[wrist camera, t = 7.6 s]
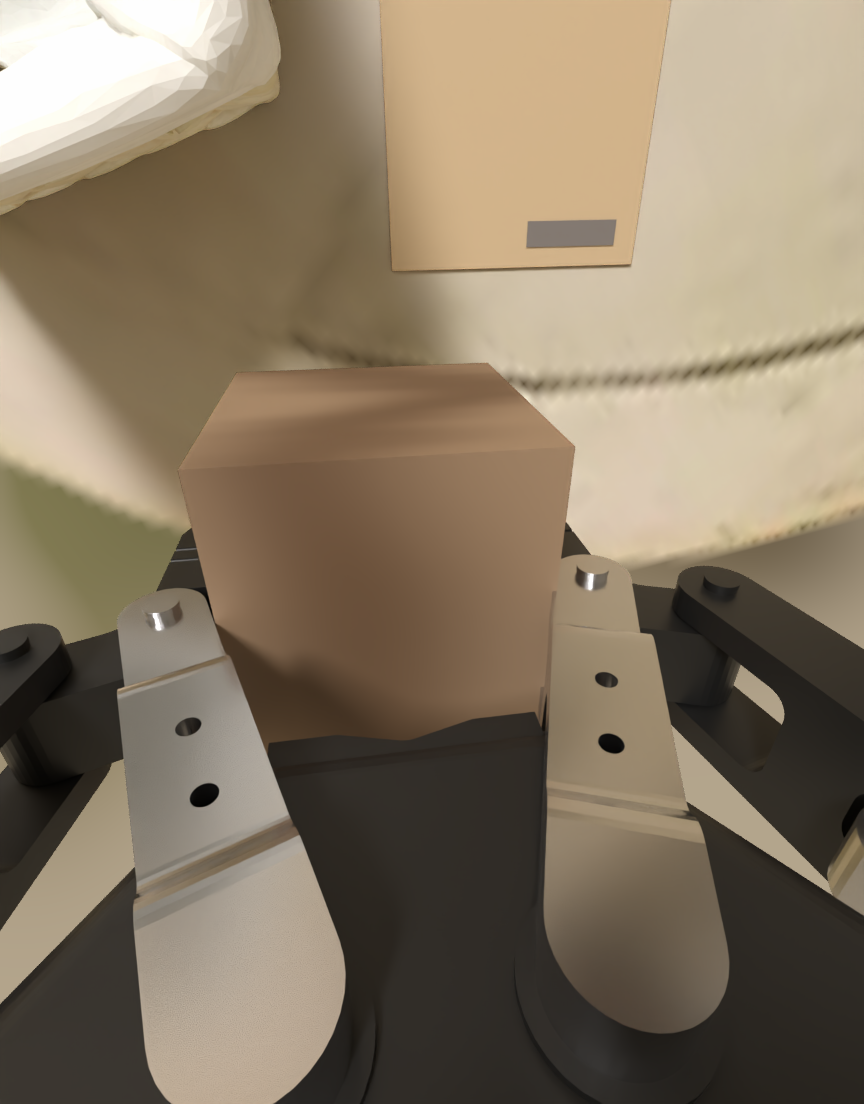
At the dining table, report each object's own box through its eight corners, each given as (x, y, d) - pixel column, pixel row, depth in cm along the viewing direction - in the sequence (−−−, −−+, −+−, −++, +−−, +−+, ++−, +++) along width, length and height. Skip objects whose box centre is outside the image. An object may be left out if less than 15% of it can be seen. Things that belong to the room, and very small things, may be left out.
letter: (707, -252, 19) (710, -255, 18) (630, 263, 27) (631, 264, 26) (367, -275, 18) (367, -278, 17) (391, 270, 25) (392, 270, 25)
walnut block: (487, 362, 12) (575, 446, 8) (475, 632, 15) (531, 792, 11) (236, 372, 11) (177, 469, 7) (284, 651, 15) (265, 828, 10)
